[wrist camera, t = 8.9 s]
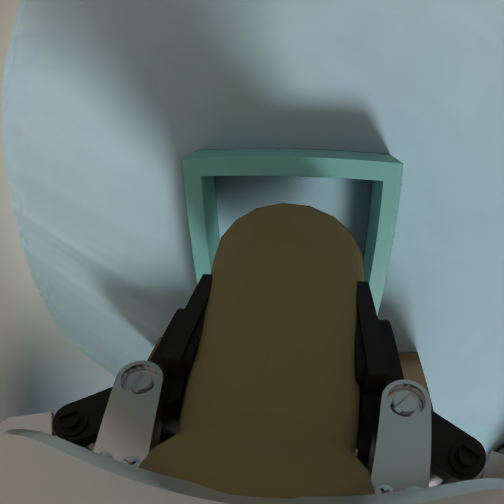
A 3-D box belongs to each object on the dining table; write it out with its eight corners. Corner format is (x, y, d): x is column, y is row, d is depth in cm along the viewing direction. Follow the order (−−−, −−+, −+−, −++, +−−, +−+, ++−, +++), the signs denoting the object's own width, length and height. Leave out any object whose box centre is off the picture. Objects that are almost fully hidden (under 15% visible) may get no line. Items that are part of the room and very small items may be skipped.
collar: (367, 313, 17) (371, 336, 15) (213, 305, 19) (204, 327, 17) (390, 154, 13) (403, 163, 11) (196, 150, 14) (181, 158, 13)
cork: (192, 288, 13) (79, 534, 4) (260, 171, 10) (81, 575, 1) (306, 347, 14) (282, 584, 5) (393, 257, 11) (465, 569, 2)
